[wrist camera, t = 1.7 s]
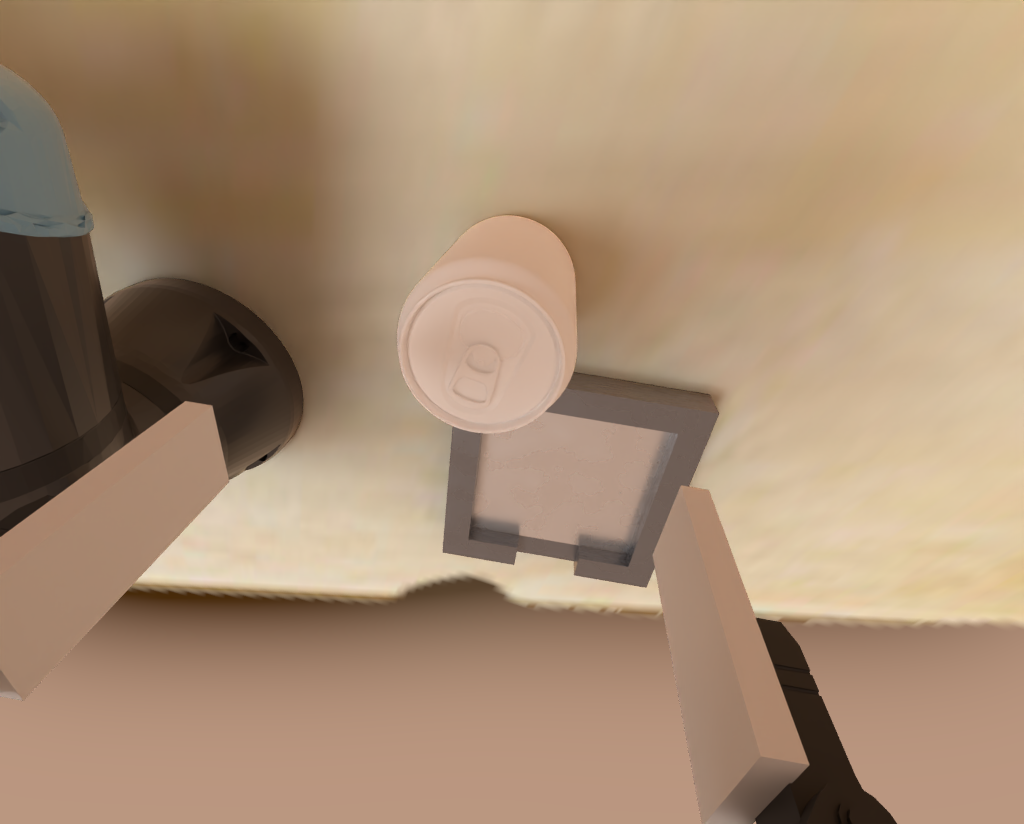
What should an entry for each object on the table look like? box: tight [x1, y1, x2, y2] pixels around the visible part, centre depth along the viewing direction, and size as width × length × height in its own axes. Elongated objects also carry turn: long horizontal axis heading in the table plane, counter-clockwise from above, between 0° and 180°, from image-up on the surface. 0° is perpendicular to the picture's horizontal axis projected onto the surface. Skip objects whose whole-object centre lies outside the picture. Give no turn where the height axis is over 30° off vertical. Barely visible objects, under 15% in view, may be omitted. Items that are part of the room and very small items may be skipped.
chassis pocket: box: [443, 372, 719, 588], centre depth 37 cm, size 17×17×2 cm
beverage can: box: [397, 215, 577, 433], centre depth 26 cm, size 8×8×12 cm
